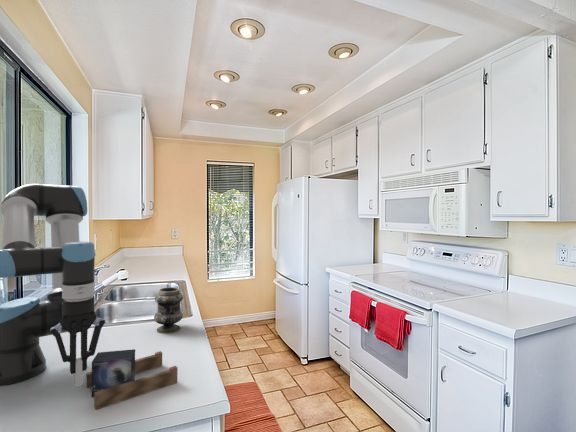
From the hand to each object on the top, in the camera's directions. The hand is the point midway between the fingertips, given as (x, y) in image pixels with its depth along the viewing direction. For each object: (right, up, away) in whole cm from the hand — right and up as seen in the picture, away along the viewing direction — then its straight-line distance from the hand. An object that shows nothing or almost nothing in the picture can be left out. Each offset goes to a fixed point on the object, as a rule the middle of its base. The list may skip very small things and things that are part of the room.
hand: (78, 383), depth 89 cm
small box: (+7, -5, +6) cm, 10 cm away
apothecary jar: (+5, -5, +55) cm, 55 cm away
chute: (+11, -5, +9) cm, 15 cm away
